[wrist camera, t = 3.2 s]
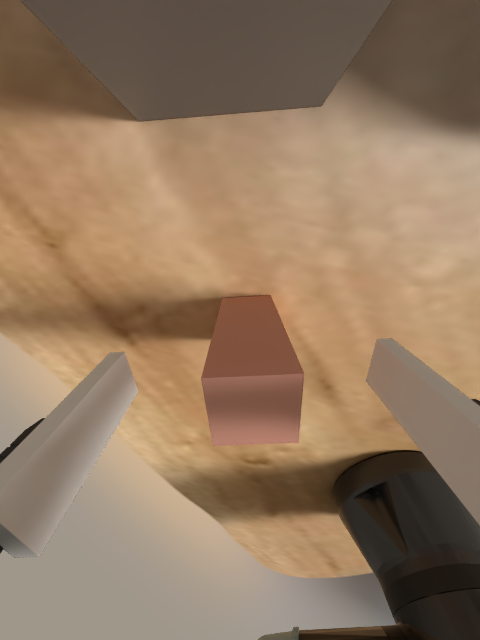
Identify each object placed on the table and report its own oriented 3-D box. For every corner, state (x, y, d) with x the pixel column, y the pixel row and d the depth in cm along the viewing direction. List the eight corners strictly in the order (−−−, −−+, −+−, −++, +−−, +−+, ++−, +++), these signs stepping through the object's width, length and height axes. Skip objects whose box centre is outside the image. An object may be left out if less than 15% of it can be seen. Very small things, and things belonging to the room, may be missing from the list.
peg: (270, 337, 19) (298, 442, 10) (226, 339, 19) (213, 445, 10) (270, 295, 17) (304, 373, 8) (222, 297, 17) (201, 378, 8)
